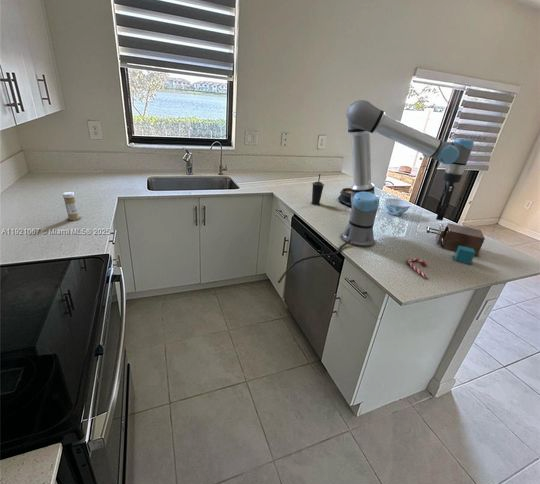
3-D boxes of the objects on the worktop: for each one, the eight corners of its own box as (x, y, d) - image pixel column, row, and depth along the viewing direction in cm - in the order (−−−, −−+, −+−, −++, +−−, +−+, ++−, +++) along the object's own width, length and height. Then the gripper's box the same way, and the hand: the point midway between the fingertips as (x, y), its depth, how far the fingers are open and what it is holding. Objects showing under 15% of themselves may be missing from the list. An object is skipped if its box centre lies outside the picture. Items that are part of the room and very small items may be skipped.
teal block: (470, 264, 131) (475, 252, 128) (455, 260, 133) (459, 249, 130) (468, 260, 134) (473, 248, 132) (454, 256, 137) (458, 245, 134)
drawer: (423, 241, 147) (428, 227, 144) (423, 234, 156) (428, 221, 153) (467, 251, 140) (473, 237, 137) (464, 243, 149) (470, 229, 146)
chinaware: (411, 219, 179) (414, 207, 176) (387, 217, 179) (390, 205, 175) (401, 210, 192) (404, 199, 189) (379, 208, 192) (382, 197, 189)
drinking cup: (313, 201, 197) (317, 172, 188) (323, 204, 193) (328, 174, 184) (307, 203, 191) (311, 173, 183) (317, 206, 187) (322, 176, 179)
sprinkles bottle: (78, 216, 146) (72, 190, 141) (80, 219, 143) (74, 193, 138) (67, 218, 144) (61, 192, 138) (69, 221, 141) (62, 194, 135)
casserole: (333, 196, 210) (335, 185, 207) (358, 197, 211) (361, 186, 208) (342, 208, 188) (344, 195, 184) (370, 210, 189) (373, 197, 185)
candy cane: (418, 275, 116) (405, 256, 130) (417, 277, 117) (404, 259, 131) (437, 277, 116) (422, 258, 130) (436, 279, 117) (421, 260, 130)
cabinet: (443, 248, 144) (449, 230, 140) (441, 239, 154) (447, 223, 149) (477, 256, 139) (485, 238, 134) (473, 246, 148) (480, 229, 144)
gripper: (465, 179, 125) (448, 225, 134) (459, 169, 144) (445, 211, 153) (446, 176, 128) (431, 222, 137) (443, 167, 147) (429, 208, 156)
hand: (438, 216), depth 145 cm, fingers open, 10 cm apart
